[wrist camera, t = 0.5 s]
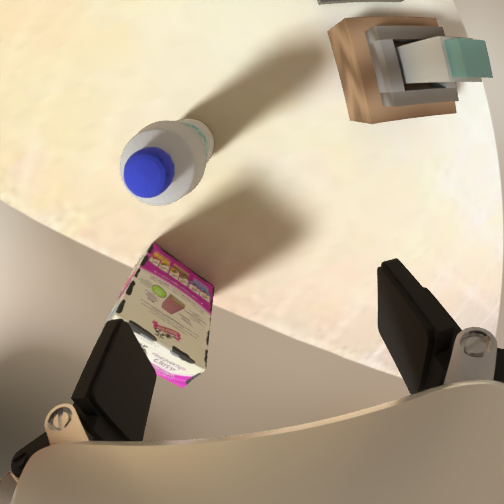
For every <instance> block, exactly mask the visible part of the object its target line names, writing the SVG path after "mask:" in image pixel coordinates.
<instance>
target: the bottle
mask: <svg viewBox="0 0 504 504" xmlns="http://www.w3.org/2000/svg"><path fill="white" fill-rule="evenodd" d="M213 148H214V139H213V135H212V133H211V131H210V130H209V129H208V127H207V126H206V125H205V124H203V123H202V122H201V121H198V120H195V119H180V120H177V121H159V122H155V123H152V124H150V125H148V126H146V127H145V128H143V129H142V130H141V131H140V132H139V133H138V134H137V135H135V136H134V137H133V138H132V139H131V140H130V141H129V142H128V143H127V145H126V146H125V148H124V150H123V153H122V155H121V160H120V174H121V178H122V181H123V183H124V185H125V187H126V189H127V190H128V191H129V193H130V194H131V195H132V196H133V197H135V198H136V199H138V200H139V201H141V202H143V203H146V204H149V205H157V206H161V205H167V204H171V203H173V202H176V201H177V200H179V199H180V198H182V197H183V196H185V195H187V194H188V193H190V192H191V191H192V190H193V189H194V188H195V187H196V186H197V185H198V183H199V182H200V180H201V178H202V176H203V174H204V171H205V167H206V163H207V162H208V161H209V159H210V157H211V156H212V153H213Z"/></svg>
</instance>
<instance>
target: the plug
mask: <svg viewBox="0 0 504 504" xmlns="http://www.w3.org/2000/svg"><path fill="white" fill-rule="evenodd" d="M395 50H396V54H397V58H398V62H399V66H400V70H401V75H402V79H403V84H406V83H427V82H482V79H481V77H488V78H492V77H493V76H492V71H491V66H490V61H489V56H488V52H487V48H486V44H485V41H482V40H473V39H471V38H461V37H447V36H437V37H433V38H429V39H425V40H421V41H417V42H413V43H410V44H406V45H402V46H399V47H395Z"/></svg>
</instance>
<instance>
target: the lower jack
mask: <svg viewBox="0 0 504 504" xmlns="http://www.w3.org/2000/svg"><path fill="white" fill-rule="evenodd" d="M317 1H318V4H319V5H320V4H331V3H346V2H402V1H404V0H317Z"/></svg>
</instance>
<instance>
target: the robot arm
mask: <svg viewBox="0 0 504 504" xmlns="http://www.w3.org/2000/svg"><path fill="white" fill-rule="evenodd" d="M377 279H378V329H379V333H380V335H381V337H382V339H383V340H384V342H385V344H386V346H387V348H388V350H389V352H390V354H391V356H392V358H393V360H394V362H395V364H396V366H397V368H398V370H399V372H400V373H401V375H402V377H403V380H404V381H405V384H406V385H407V387H408V390H409V392H410V393H411V395H409V396H406V397H403V398H400V399H397V400H394V401H391V402H387V403H384V404H380V405H377V406H374V407H370V408H366V409H363V410H359V411H356V412H352V413H348V414H345V415H341V416H337V417H333V418H329V419H324V420H320V421H316V422H311V423H307V424H301V425H296V426H291V427H286V428H280V429H275V430H269V431H263V432H256V433H249V434H241V435H234V436H225V437H215V438H204V439H192V440H191V439H190V440H175V441H142V440H143V435H144V430H145V426H146V421H147V416H148V412H149V408H150V403H151V398H152V394H153V390H154V386H155V382H156V371H155V369H154V367H153V366H152V364H151V362H150V360H149V359H148V357H147V355H146V354H145V352H144V350H143V348H142V347H141V345H140V343H139V341H138V340H137V338H136V336H135V334H134V332H133V330H132V329H131V327H130V325H129V323H128V322H126V321H124V320H123V319H121V318H120V319H114V320H109V321H107V322H106V324H105V326H104V328H103V330H102V332H101V334H100V336H99V338H98V340H97V343H96V345H95V347H94V349H93V351H92V353H91V355H90V357H89V359H88V361H87V364H86V366H85V368H84V370H83V372H82V374H81V377H80V379H79V381H78V383H77V386H76V388H75V390H74V393H73V395H72V397H71V399H72V400H73V401H74V404H73V406H72V405H70V404H61V405H58V406H56V407H55V408H54V409H52V410H51V411H50V413H49V414H48V415H47V417H46V419H45V429H46V432H45V433H43V434H42V435H41V436H39V437H38V438H36V439H35V440H33V441H32V442H31V443H29V444H28V445H26V446H25V447H24V448H22V449H20V450H19V451H18V452H17V453H16V454H15V455H14V457H13V459H12V463H11V468H12V472H10V471H8V472H7V473H6V474H5V475H4V476H3V477H2V478H1V479H0V504H504V349H500V348H497V341H496V339H495V337H494V336H493V335H492V334H491V333H490V332H489V331H487V330H485V329H483V328H479V327H470V328H466V329H464V330H461V328H460V327H459V326H458V325H457V323H456V322H455V321H454V320H453V318H452V317H451V316H450V315H449V313H448V312H447V311H446V310H445V309H444V307H443V306H442V305H441V304H440V303H439V301H438V300H437V299H436V298H435V297H434V295H433V294H432V293H431V292H430V291H429V290H428V289H427V288H425V287H422V286H421V285H420V283H419V282H418V281H417V280H416V279H415V278H414V276H413V275H412V274H411V273H410V272H409V271H408V270H407V268H406V267H405V266H404V265H403V264H402V263H401V262H400V261H399V260H398V259H397V258H396V259H392V260H388V261H384V262H382V264H381V267H378V269H377Z"/></svg>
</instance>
